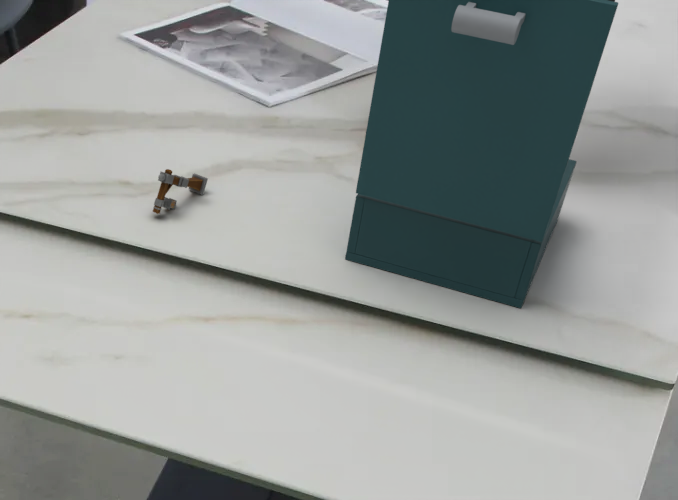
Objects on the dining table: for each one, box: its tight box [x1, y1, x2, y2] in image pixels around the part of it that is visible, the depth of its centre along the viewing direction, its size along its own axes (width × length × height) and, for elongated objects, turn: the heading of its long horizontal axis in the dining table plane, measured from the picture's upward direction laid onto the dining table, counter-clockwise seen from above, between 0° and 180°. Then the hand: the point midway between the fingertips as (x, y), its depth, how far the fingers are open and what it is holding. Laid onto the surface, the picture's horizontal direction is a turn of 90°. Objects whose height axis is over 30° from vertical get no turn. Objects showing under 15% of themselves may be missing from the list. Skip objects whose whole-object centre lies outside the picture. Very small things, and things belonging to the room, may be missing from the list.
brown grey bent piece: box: [152, 168, 209, 215], centre depth 108 cm, size 2×8×4 cm, turn 145°
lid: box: [355, 0, 619, 242], centre depth 87 cm, size 21×18×5 cm
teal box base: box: [344, 158, 577, 309], centre depth 105 cm, size 20×18×7 cm
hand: (561, 15), depth 108 cm, fingers closed on cup, 7 cm apart
